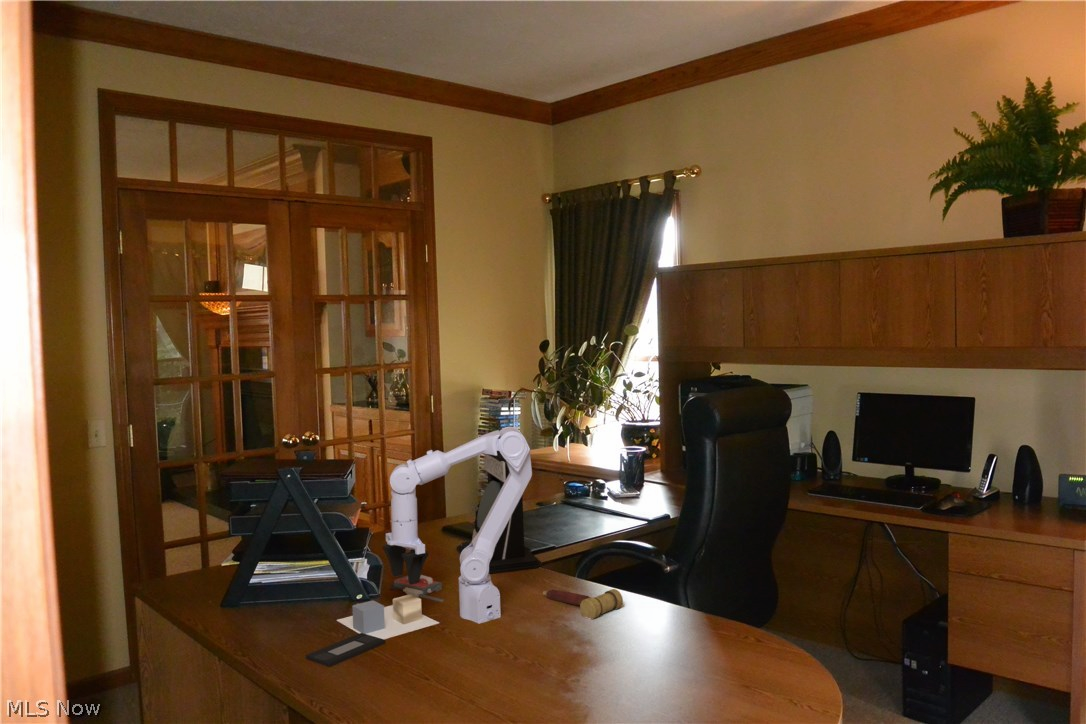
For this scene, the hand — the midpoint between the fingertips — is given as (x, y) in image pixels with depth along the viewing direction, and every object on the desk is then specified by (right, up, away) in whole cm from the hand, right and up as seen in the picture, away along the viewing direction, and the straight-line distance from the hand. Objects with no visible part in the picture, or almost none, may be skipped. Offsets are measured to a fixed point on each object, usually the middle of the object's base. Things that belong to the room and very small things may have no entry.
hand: (405, 579), depth 186 cm
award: (+18, -8, +52) cm, 55 cm away
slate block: (-7, -9, -5) cm, 13 cm away
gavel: (+38, -9, +9) cm, 40 cm away
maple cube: (0, -9, 0) cm, 9 cm away
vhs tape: (-9, -12, -17) cm, 22 cm away
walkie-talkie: (+1, -10, +20) cm, 23 cm away
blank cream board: (-4, -10, -1) cm, 11 cm away
